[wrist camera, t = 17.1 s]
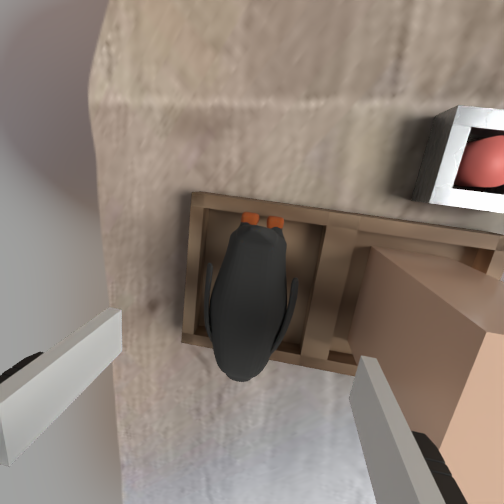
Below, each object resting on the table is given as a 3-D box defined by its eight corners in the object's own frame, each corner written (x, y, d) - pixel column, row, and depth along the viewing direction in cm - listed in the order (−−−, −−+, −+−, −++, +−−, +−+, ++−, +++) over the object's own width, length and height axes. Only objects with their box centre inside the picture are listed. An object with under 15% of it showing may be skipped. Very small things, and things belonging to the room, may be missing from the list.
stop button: (453, 139, 22) (477, 132, 19) (499, 144, 22) (531, 138, 19) (439, 183, 23) (461, 183, 20) (483, 189, 23) (512, 190, 20)
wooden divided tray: (200, 191, 26) (191, 192, 24) (492, 232, 24) (516, 238, 21) (190, 329, 30) (181, 342, 28) (439, 376, 28) (454, 395, 25)
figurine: (229, 211, 26) (207, 356, 28) (199, 198, 17) (167, 425, 18) (304, 223, 26) (278, 371, 27) (319, 216, 16) (278, 450, 17)
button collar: (434, 116, 22) (458, 105, 19) (525, 125, 22) (564, 115, 19) (411, 200, 24) (429, 203, 21) (494, 211, 24) (525, 215, 20)
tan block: (371, 246, 25) (486, 332, 10) (450, 257, 24) (690, 366, 10) (347, 340, 27) (413, 513, 13) (418, 353, 27) (570, 550, 12)
